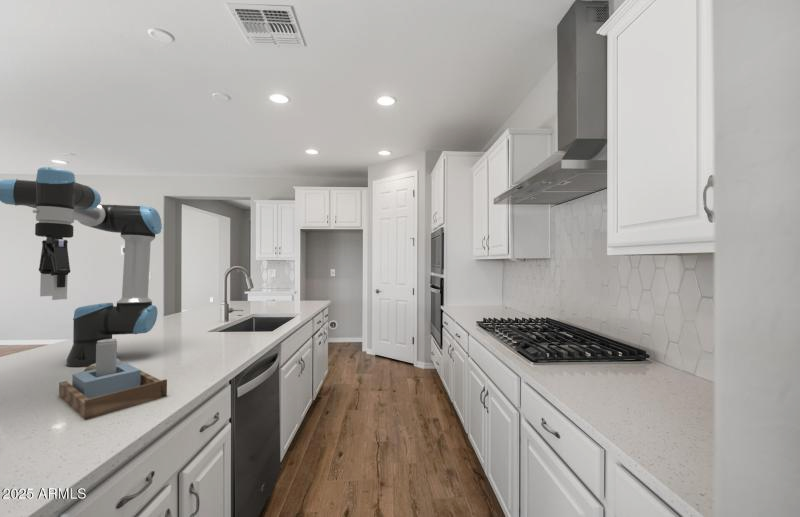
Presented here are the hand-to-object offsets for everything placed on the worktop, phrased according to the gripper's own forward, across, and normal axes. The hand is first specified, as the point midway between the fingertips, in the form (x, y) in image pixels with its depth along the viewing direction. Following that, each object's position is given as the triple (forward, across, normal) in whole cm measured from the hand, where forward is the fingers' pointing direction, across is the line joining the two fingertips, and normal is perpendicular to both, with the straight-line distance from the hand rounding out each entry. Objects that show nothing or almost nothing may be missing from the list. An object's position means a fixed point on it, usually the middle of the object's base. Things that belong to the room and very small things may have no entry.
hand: (53, 297), depth 93 cm
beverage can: (+26, +2, +12) cm, 29 cm away
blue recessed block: (+29, +4, +11) cm, 32 cm away
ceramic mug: (+31, -10, +15) cm, 36 cm away
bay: (+31, +9, +11) cm, 34 cm away
